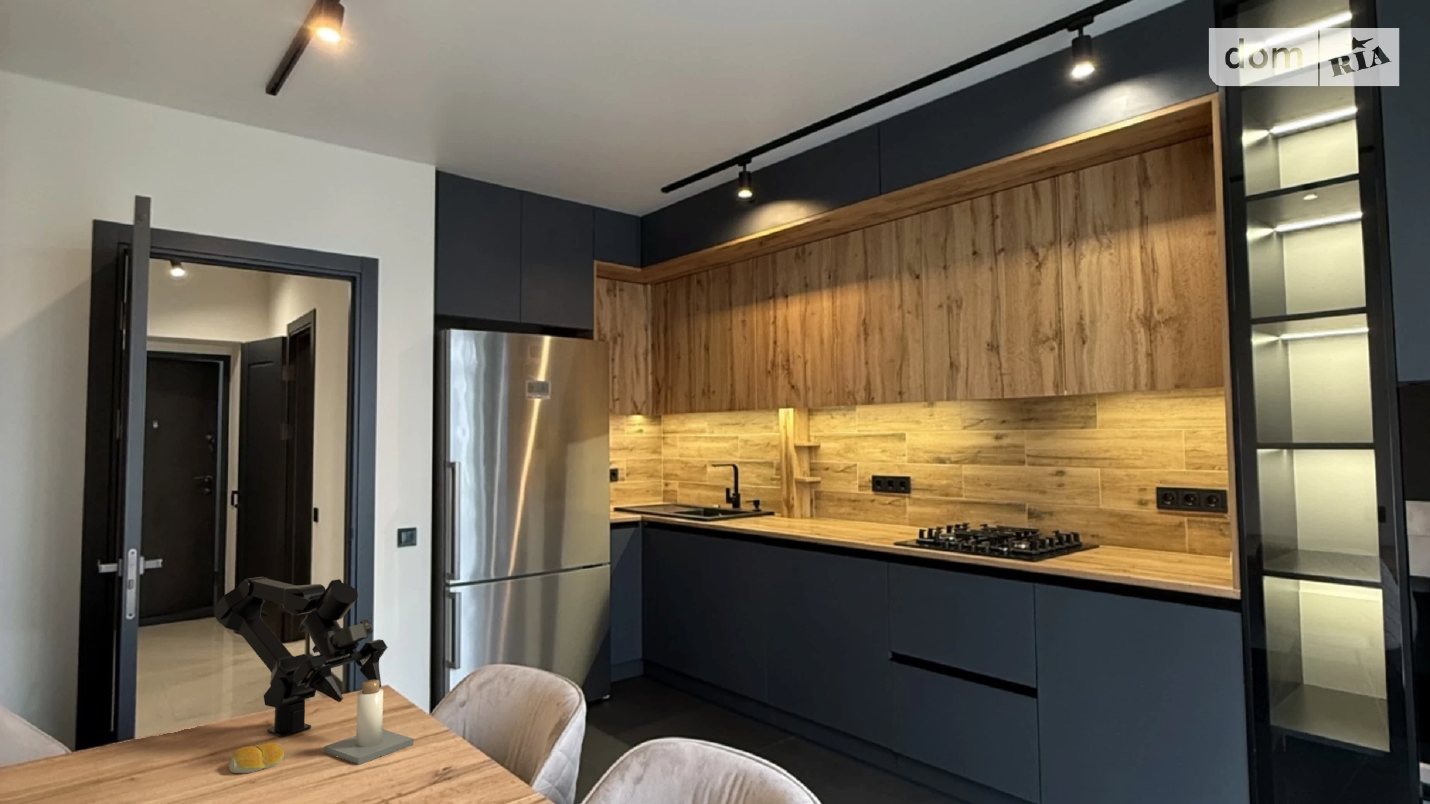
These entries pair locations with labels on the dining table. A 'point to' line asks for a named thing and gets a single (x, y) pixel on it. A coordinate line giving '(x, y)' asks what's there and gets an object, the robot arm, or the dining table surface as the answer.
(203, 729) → the dining table surface
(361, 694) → the lotion bottle
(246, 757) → the bread roll
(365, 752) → the plate
